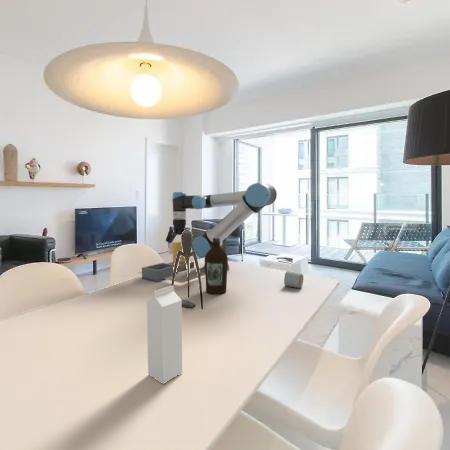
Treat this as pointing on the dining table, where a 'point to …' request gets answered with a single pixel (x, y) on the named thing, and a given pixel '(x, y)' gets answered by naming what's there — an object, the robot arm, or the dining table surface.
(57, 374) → the dining table surface
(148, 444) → the dining table surface
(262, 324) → the dining table surface
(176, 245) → the yellow rectangular slab
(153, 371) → the milk
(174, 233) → the robot arm
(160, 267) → the bin
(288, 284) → the grey cylinder
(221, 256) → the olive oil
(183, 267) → the dispenser
